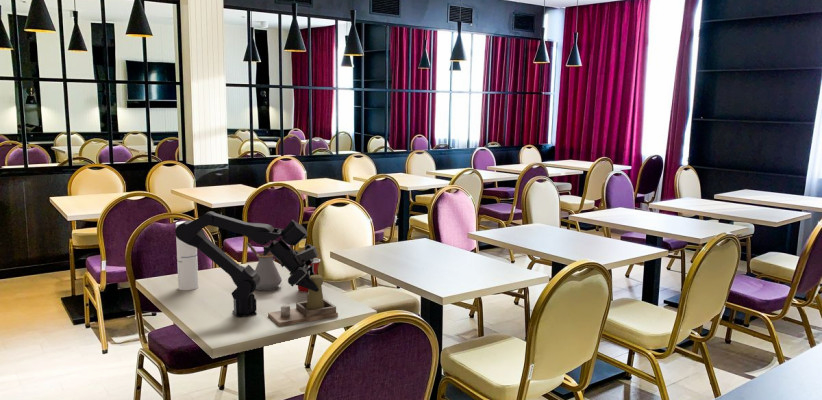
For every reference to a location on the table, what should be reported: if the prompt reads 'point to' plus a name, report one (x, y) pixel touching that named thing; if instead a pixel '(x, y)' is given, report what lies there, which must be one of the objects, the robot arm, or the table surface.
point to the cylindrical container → (186, 265)
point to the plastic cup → (315, 268)
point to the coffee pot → (266, 271)
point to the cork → (315, 294)
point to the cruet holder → (302, 313)
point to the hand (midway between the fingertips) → (319, 288)
